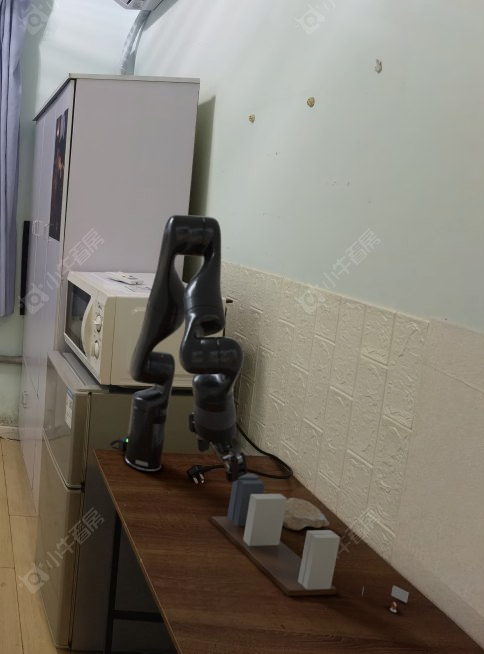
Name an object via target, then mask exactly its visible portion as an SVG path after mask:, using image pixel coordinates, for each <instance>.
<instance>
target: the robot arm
mask: <svg viewBox="0 0 484 654" xmlns="http://www.w3.org/2000/svg"><path fill="white" fill-rule="evenodd" d="M177 256H187V257H197V258H198V257H201V258H202V259H203V261H202V263H201V266H200V268H199V269H198V270H197V272H196V273H195V274H194V275H193V277H192V278H191V279H190V280H189V282H188V283H187V285H186V286H185V284H184V282H183V280H182V279H181V276H180V275H179V272H178V269H177V266H176V258H177ZM221 283H222V231H221V225H220V223H219V221H218V220H217V219H216V218H214V217H212V216H207V215H206V216H205V215H191V214H173V215H170V217H168V219H167V220H166V222H165V226H164V230H163V233H162V238H161V244H160V248H159V255H158V260H157V267H156V271H155V275H154V278H153V282H152V286H151V289H150V292H149V296H148V298H147V303H146V306H145V311H144V317H143V321H142V325H141V330H140V333H139V337H138V338H137V342H136V344H135V347H134V350H133V352H132V356H131V359H130V364H129V374H130V377H131V379H132V380H133V381H134V382H137V383H139V384H146V385H152V387H150V388H147V389H143V390H139V391H136V392H134V393H133V395H132V399H131V407H130V416H129V418H130V419H129V423H128V425H127V431H126V437H119V438H118V439H113V440H112V441H111V442H110V443H109V444H110V446H113V445H115V444H116V443H118V449H119V451H121V452H124V462H125V463H126V464H127V465H128V466H129V467H130V468H133V469H135V470H137V471H140V472H143V473H144V472H145V473H156V472H157V473H158V472H159V471H160V470H161V469H162V459H163V458H162V457H163V453H164V452H163V451H164V444H165V438H166V437H165V435H166V430H167V421H168V413H169V406H170V402H171V395H172V390H173V384H174V381H175V374H176V359H175V357H174V355H173V354H172V353H171V352H169V351H160V350H154V349H155V348H156V347H158V345H159V344H160V343H161V342H163V341H164V340H166V339H168V338H169V337H170V336H172V335H173V334H175V333H176V332H177V331H178V330H180V328H181V327H182V326H183V324H184V332H183V336H182V339H181V342H180V345H179V350H178V362H179V364H180V366H181V368H182V369H183V371H185V372H186V373H187V374H191V375H193V377H192V380H191V384H192V385H191V387H192V388H191V389H192V399H193V400H192V412H191V413H188V428H189V431H190V432H191V433H192V434H193V433H194V438H195V439H196V440H197V441H196V442H197V448H198V451H199V452H200V453H203V452H205V451H206V452H207V451H209V450H210V448H211V450H213V452H214V453H215V455H216V458H217V460H218V461H219V462H220V463H222V464H223V466H224V468H225V479H226V481H227V482H228V483H233V482H234V481H236V480H238V479H239V477H241V476H243V475H245V474H248V466H247V457H246V454H245V453H244V452H243V451H240V452H237V450H235V447H234V443H233V440H234V438H235V436H236V434H237V412H236V411H237V410H236V405H235V399H234V387H235V384H236V381H237V379H238V377H239V376H240V373H241V370H242V367H243V365H244V358H245V354H244V350H243V347H242V345H241V344H240V342H239V341H238V340H237V339H236V338H234V337H230V336H213V335H216V334H218V333H221V332H222V331H224V329H225V328H226V325H227V318H226V312H225V307H224V301H223V296H222V284H221ZM225 454H226V455H225ZM223 455H225V456H223ZM229 462H230V464H229Z"/></svg>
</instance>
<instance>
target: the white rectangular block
mask: <svg viewBox="0 0 484 654" xmlns="http://www.w3.org/2000/svg"><path fill="white" fill-rule="evenodd" d="M287 499H288V497H286V496H284V495H283V494H282V493H263V494H251V495H250V502H249V508H248V514H247V520H246V526H245V532H244V539H243V540H244V541H245V542H246V543H247V544H248V545H249V546H260V545H279V542H280V541H281V535H282V529H283V519H284V513H285V507H286V502H287Z"/></svg>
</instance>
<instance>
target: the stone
mask: <svg viewBox="0 0 484 654" xmlns="http://www.w3.org/2000/svg"><path fill="white" fill-rule="evenodd" d="M329 526H330V522H329V519H328V518H327V516H326V515H325V514H324V513H323V512H322V511H321V509H320V508H318V507H317V506H316V505H315V504H313V503H312V502H310V501H309V500H306V499H305V500H304V499H301V498H296V497H289V498H287V502H286V507H285V513H284V519H283V525H282V527H284V528H285V529H287V530H292V531H301V530H302V529H303V530H304V529H305V527H312V528H315V529H320V528H324V527H329Z"/></svg>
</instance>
